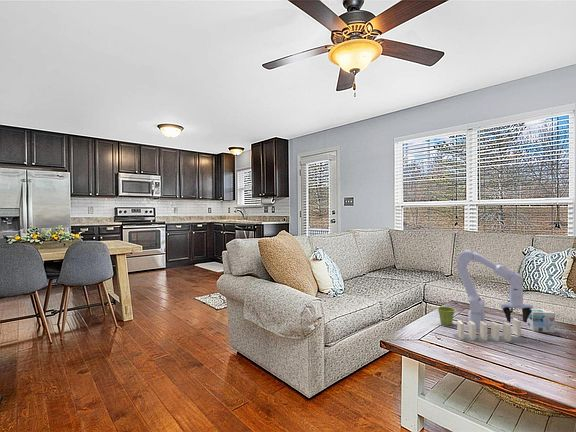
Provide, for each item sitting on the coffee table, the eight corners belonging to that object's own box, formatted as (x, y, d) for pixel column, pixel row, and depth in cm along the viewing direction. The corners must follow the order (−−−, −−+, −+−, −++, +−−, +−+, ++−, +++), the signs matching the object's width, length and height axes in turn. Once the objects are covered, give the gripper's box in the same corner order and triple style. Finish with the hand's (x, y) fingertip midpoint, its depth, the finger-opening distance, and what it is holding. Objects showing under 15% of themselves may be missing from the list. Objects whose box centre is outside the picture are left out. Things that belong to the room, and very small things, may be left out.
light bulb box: (532, 331, 173) (532, 312, 172) (526, 327, 179) (526, 308, 179) (555, 332, 170) (555, 312, 170) (548, 328, 177) (548, 309, 176)
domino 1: (460, 339, 165) (460, 323, 165) (457, 335, 170) (457, 320, 170) (464, 339, 165) (463, 323, 165) (460, 335, 170) (460, 320, 169)
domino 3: (484, 340, 163) (483, 324, 163) (480, 336, 168) (479, 321, 168) (487, 340, 163) (487, 324, 163) (483, 336, 168) (483, 321, 167)
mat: (452, 334, 172) (452, 334, 172) (522, 337, 166) (522, 336, 166) (457, 340, 164) (457, 340, 164) (531, 343, 158) (531, 343, 158)
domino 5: (507, 341, 161) (507, 325, 161) (503, 337, 166) (502, 321, 166) (511, 341, 161) (511, 325, 161) (506, 337, 166) (506, 322, 165)
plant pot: (442, 319, 195) (441, 305, 195) (458, 323, 187) (457, 308, 187) (434, 323, 189) (434, 308, 189) (450, 327, 182) (450, 312, 181)
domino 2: (472, 339, 164) (472, 324, 164) (468, 335, 169) (468, 320, 169) (475, 339, 164) (475, 324, 164) (471, 335, 169) (471, 320, 168)
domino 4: (495, 340, 162) (495, 325, 162) (491, 336, 167) (491, 321, 167) (499, 340, 162) (499, 325, 162) (494, 336, 167) (494, 321, 166)
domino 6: (517, 336, 167) (517, 321, 167) (512, 332, 172) (512, 318, 172) (520, 336, 167) (520, 321, 166) (515, 332, 172) (515, 318, 171)
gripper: (504, 298, 166) (505, 324, 166) (536, 298, 164) (536, 324, 164) (498, 294, 173) (499, 319, 173) (528, 295, 170) (528, 320, 171)
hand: (516, 321), depth 169 cm, fingers open, 7 cm apart
